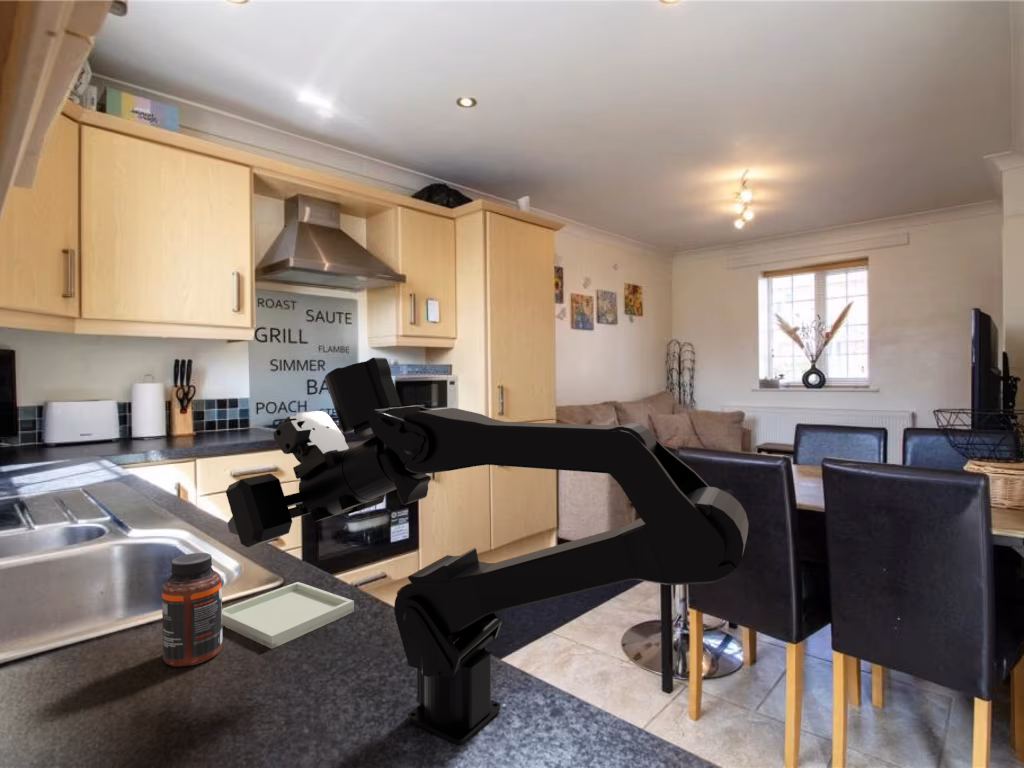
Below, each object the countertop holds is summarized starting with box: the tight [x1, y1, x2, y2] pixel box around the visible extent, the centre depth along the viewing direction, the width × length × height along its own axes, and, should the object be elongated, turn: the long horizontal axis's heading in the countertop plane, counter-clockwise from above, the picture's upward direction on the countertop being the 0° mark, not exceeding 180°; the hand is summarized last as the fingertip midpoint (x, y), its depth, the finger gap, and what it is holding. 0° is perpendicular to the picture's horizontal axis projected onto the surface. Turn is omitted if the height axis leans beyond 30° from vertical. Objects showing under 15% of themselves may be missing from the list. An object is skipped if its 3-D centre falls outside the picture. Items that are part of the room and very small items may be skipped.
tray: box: [222, 581, 355, 650], centre depth 74 cm, size 12×12×2 cm
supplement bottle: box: [161, 552, 223, 668], centre depth 64 cm, size 6×6×11 cm
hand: (265, 517), depth 64 cm, fingers open, 9 cm apart
